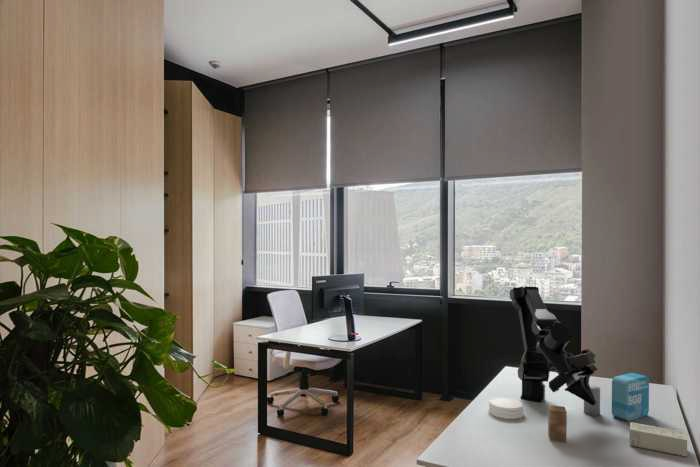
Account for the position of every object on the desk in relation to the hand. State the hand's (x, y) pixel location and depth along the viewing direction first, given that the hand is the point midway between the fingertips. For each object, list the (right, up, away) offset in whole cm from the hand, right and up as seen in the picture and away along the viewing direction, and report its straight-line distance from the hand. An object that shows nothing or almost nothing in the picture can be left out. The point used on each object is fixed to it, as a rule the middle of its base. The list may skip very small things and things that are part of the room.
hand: (594, 404), depth 129 cm
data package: (+17, -8, +11) cm, 21 cm away
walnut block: (-13, -7, -6) cm, 16 cm away
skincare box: (+6, -5, -7) cm, 10 cm away
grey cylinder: (+6, -7, +13) cm, 16 cm away
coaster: (-21, -8, +12) cm, 25 cm away
